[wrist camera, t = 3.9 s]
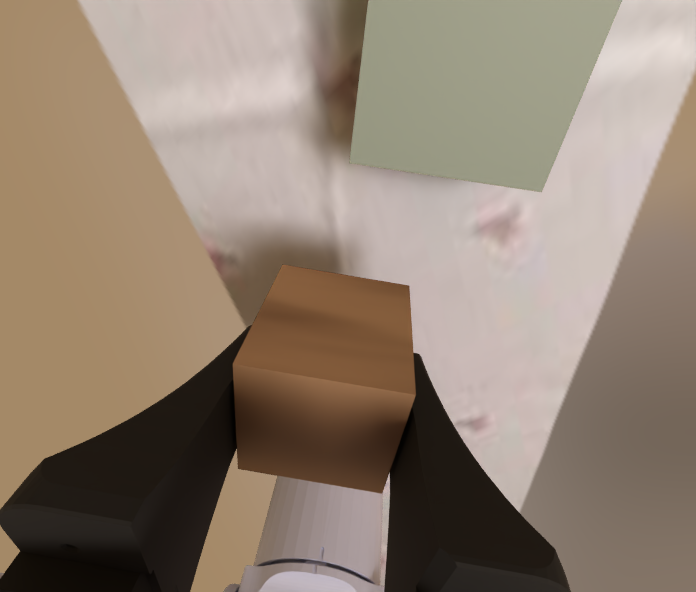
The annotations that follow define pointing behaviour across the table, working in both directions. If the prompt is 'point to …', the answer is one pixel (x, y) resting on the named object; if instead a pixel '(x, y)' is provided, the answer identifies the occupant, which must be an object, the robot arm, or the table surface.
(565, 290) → the table surface
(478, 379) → the table surface
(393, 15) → the grey block
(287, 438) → the walnut block
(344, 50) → the table surface
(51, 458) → the robot arm
